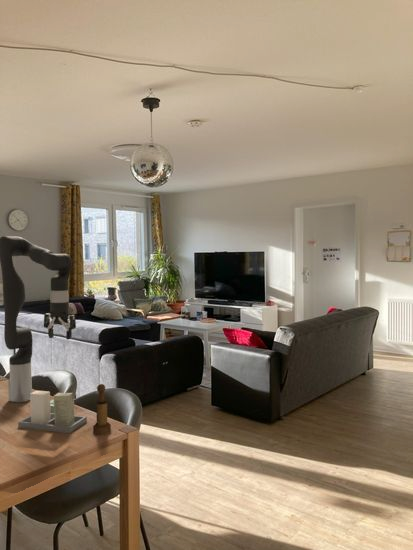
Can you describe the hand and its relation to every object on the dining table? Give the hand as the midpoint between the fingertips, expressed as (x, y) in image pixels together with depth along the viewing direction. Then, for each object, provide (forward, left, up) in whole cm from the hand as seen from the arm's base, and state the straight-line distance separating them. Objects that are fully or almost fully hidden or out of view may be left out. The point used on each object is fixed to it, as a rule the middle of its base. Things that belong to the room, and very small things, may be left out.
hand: (59, 338), depth 194 cm
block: (+3, -19, -29) cm, 35 cm away
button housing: (+2, -5, -31) cm, 31 cm away
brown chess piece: (+29, -17, -31) cm, 46 cm away
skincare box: (+14, -19, -30) cm, 38 cm away
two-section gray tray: (+9, -19, -31) cm, 37 cm away
